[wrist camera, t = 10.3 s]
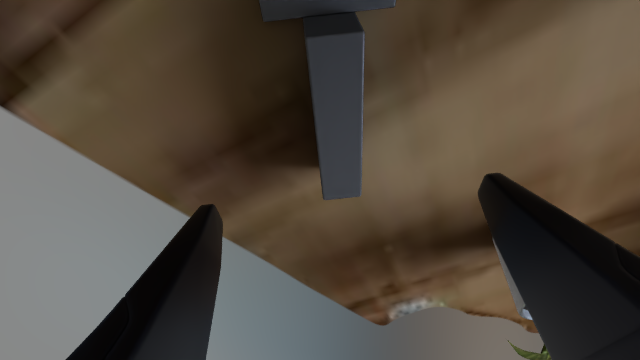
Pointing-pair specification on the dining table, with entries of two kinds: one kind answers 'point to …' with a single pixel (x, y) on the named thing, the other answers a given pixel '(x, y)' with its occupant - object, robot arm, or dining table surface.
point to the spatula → (333, 83)
